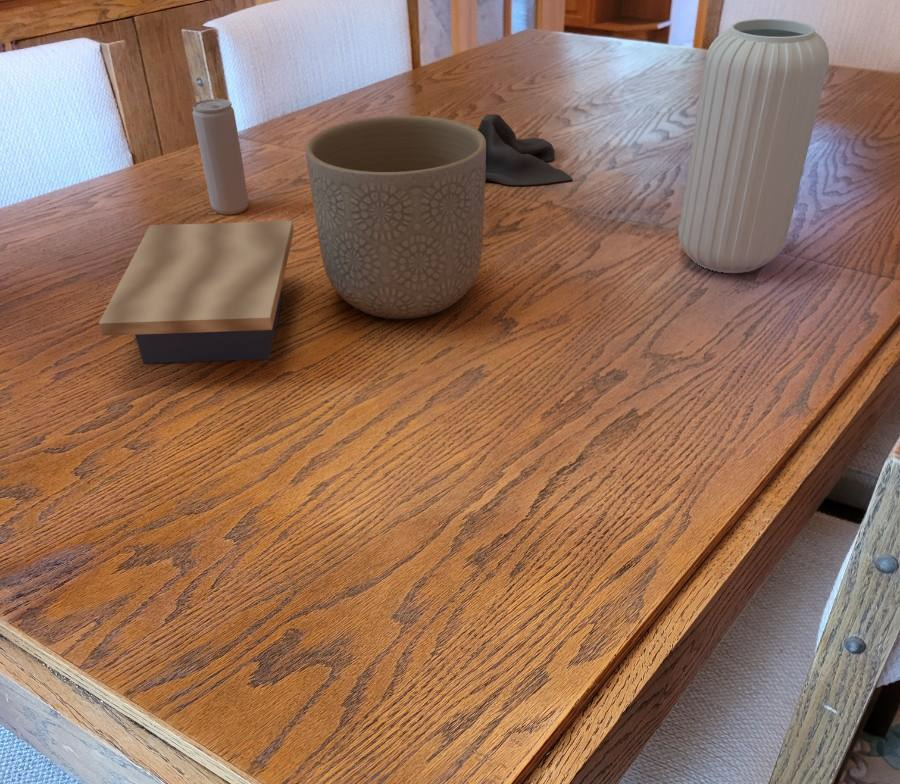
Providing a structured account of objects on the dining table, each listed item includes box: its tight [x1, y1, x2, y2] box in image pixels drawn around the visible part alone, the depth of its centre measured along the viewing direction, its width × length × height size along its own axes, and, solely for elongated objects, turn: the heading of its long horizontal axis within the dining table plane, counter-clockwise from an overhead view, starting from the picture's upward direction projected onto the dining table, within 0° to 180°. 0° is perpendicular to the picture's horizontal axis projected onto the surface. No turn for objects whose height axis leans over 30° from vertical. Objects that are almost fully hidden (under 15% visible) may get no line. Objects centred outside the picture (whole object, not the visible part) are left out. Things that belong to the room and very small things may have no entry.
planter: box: [305, 114, 486, 320], centre depth 90 cm, size 17×17×15 cm
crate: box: [134, 287, 284, 364], centre depth 89 cm, size 12×14×5 cm
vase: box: [677, 18, 830, 274], centre depth 93 cm, size 12×12×22 cm
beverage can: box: [192, 98, 250, 216], centre depth 110 cm, size 5×5×12 cm
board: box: [98, 220, 295, 336], centre depth 87 cm, size 15×22×1 cm
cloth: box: [477, 113, 573, 187], centre depth 122 cm, size 22×19×6 cm
